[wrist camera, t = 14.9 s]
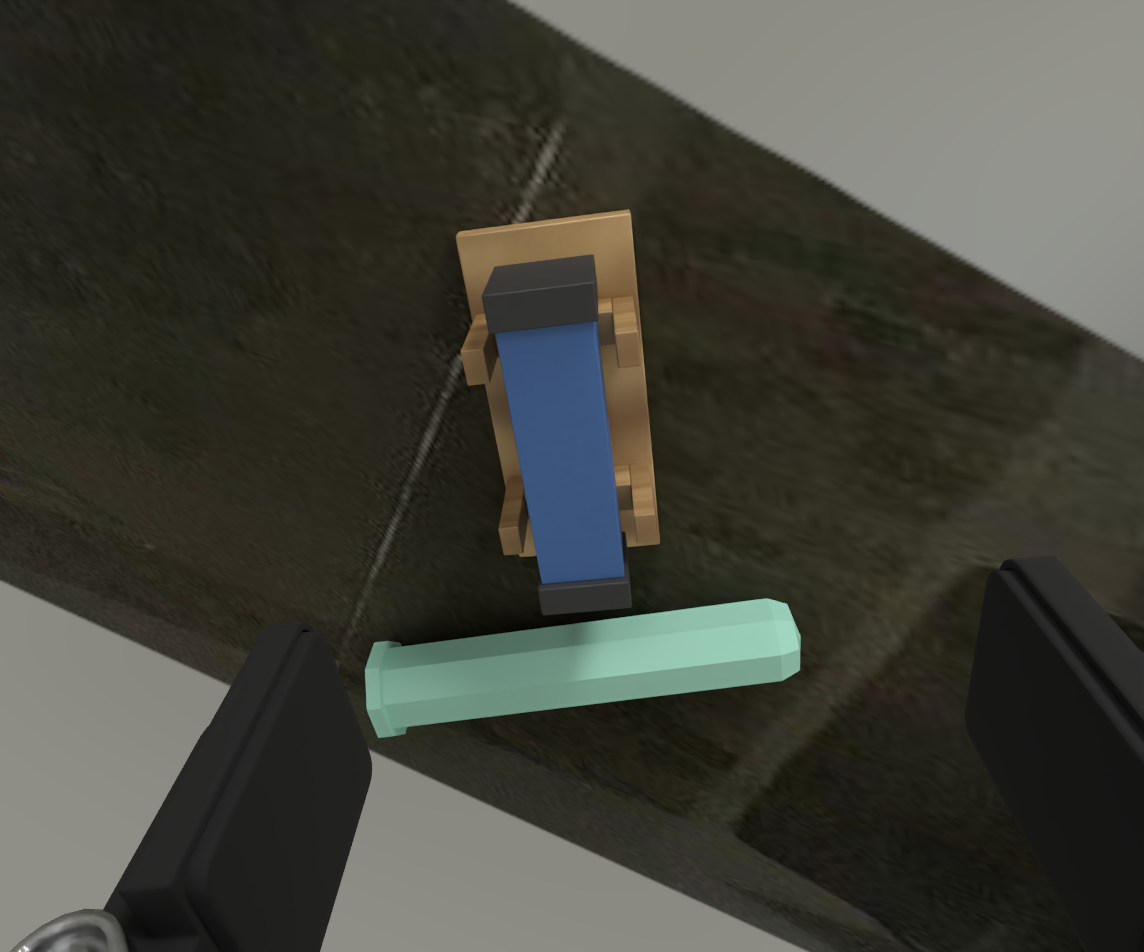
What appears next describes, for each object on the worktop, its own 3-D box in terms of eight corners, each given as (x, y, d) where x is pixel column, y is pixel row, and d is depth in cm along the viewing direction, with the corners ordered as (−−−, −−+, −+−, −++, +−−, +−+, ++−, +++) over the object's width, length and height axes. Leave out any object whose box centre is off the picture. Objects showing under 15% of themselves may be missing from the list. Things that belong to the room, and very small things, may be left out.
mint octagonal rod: (818, 662, 40) (359, 719, 42) (809, 705, 45) (395, 754, 47) (791, 566, 44) (370, 623, 46) (785, 614, 48) (402, 664, 51)
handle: (493, 266, 33) (480, 295, 30) (593, 253, 33) (594, 281, 29) (546, 562, 41) (542, 616, 37) (628, 555, 41) (632, 608, 37)
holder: (457, 231, 36) (435, 264, 30) (629, 209, 35) (636, 238, 30) (520, 548, 44) (511, 615, 39) (658, 534, 44) (667, 601, 39)
